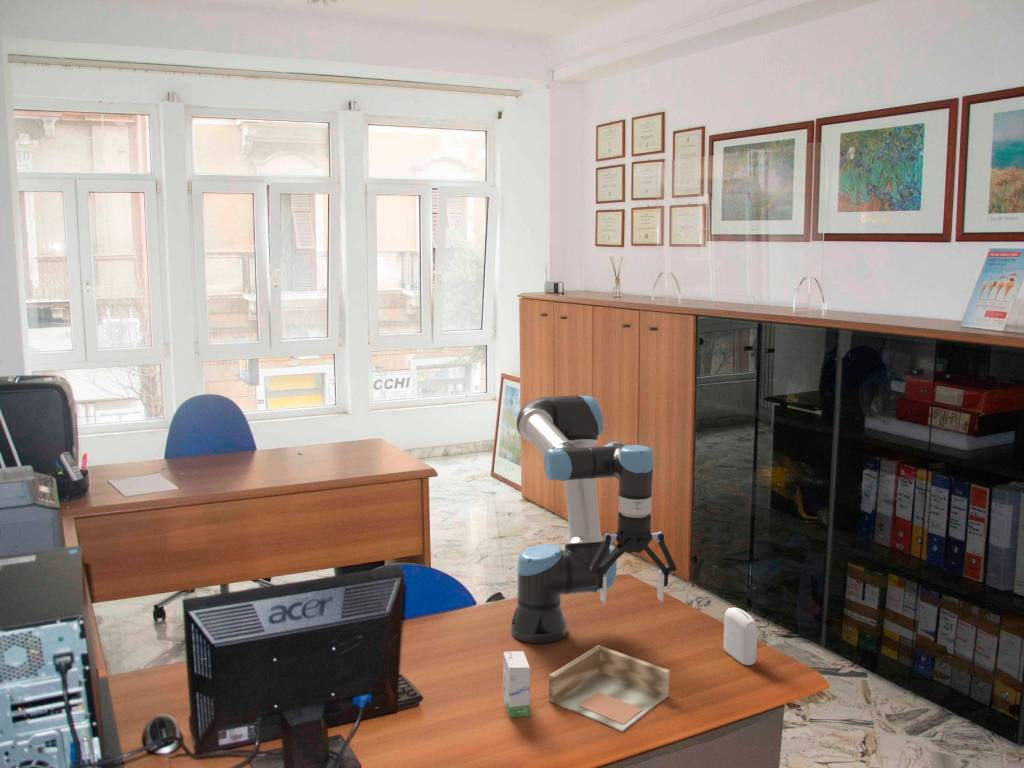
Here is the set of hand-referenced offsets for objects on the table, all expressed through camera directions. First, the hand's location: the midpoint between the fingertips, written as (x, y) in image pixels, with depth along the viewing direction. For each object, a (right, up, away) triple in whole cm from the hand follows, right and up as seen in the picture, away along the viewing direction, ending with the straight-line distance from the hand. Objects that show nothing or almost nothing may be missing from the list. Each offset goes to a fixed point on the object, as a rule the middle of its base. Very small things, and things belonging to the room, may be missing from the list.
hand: (631, 600), depth 204 cm
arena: (-5, -22, -2) cm, 23 cm away
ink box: (-27, -23, -6) cm, 36 cm away
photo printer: (+30, -20, +19) cm, 41 cm away
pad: (-6, -23, -6) cm, 25 cm away
